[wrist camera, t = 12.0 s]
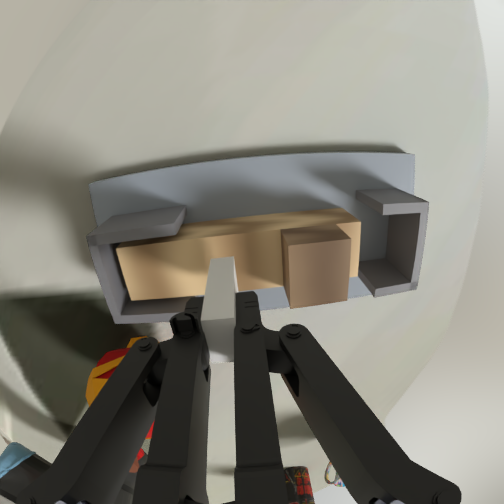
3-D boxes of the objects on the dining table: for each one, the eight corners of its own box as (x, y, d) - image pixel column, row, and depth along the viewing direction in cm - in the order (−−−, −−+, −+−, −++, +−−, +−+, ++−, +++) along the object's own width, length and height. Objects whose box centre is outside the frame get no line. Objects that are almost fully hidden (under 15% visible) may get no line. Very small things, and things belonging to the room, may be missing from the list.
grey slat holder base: (130, 312, 28) (111, 352, 22) (95, 181, 22) (58, 197, 16) (396, 282, 28) (426, 314, 22) (406, 152, 23) (449, 161, 17)
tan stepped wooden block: (144, 277, 25) (119, 322, 18) (132, 230, 23) (99, 266, 16) (341, 255, 25) (372, 296, 19) (342, 207, 23) (379, 235, 17)
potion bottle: (145, 302, 27) (97, 423, 14) (207, 363, 31) (200, 479, 17) (91, 340, 29) (43, 437, 15) (148, 390, 33) (127, 486, 19)
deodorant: (308, 472, 48) (318, 526, 34) (282, 477, 48) (289, 531, 34) (307, 464, 46) (318, 522, 32) (279, 469, 46) (287, 528, 32)
